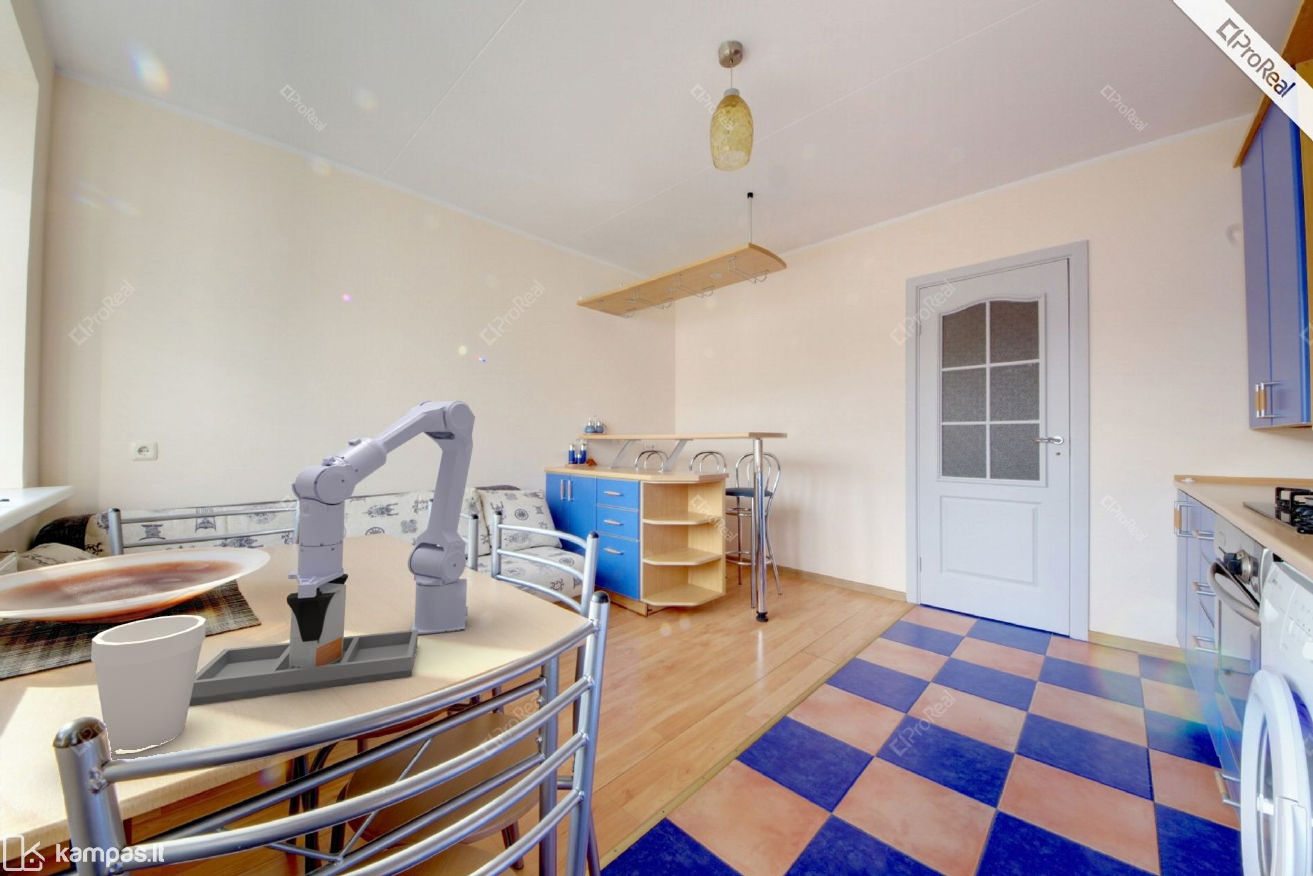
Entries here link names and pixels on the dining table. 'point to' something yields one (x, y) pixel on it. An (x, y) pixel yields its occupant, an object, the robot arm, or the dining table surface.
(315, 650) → the skincare box
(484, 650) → the dining table surface
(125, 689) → the foam cup
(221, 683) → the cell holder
